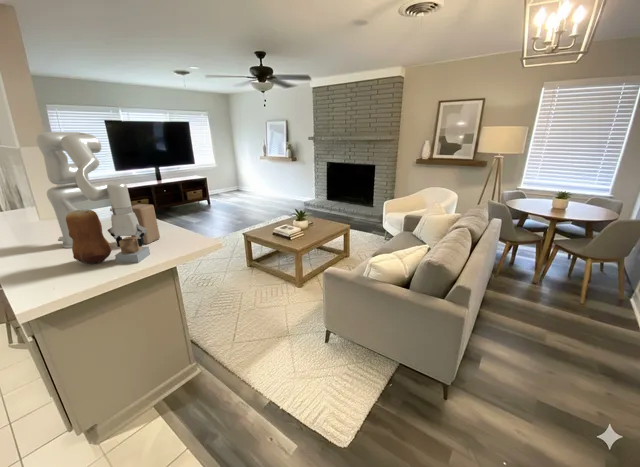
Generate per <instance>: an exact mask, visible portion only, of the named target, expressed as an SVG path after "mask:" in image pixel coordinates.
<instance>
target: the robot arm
mask: <svg viewBox="0 0 640 467" xmlns="http://www.w3.org/2000/svg"><path fill="white" fill-rule="evenodd" d="M36 144H37V148H39V151H40V152H41V154H42V156H43V159H44V165H45V171H46V176H47V178H48V181H49V182H50V183H51V184H53V185H57V186H53V187H50V188H48V189H47V191H46V197H47V199H48V201H49V203H50V204H51V206H52V208H53V211H54V213H55V216H56V219H57V221H58V222H57V223H58V225H59V229H60V231H61V235H62V236H59V237H58V239H57V241H58V242H62V243H61V247H62V248H65V249H69V248H70V249H72V245H73V239H72V238H71V237H70V236H69V230H68V227H67V223H66V216H67V214H68V213H69V212H72V211H75V210H79V209H78V208H76V206H74V205H72V204H74V203H75V204H76V203H81V202H85V201H86V202H87V201H88V200H89V201H93V202H97V201H103V200H109V204H110V207H111V208H109V211H110V212H112V214H111V218H110V220H111V227H110V228H108V229H107V232H108V233H109V234H110V236H111V237H113V239H114V240H115V242H116V245H117V247H118V248H120V244H119V241H120V240H122V239H123V237H131V236H133V235H135V236H136V237H138V239H137V241H138V245H139V247H141V246H142V247H144V245H145V244H144V240H143V237H144V235H145V234H146V231H147V229H146V228H144V227H142V226H140V225H139V223H138V220H137V217H136V215H135V213H134V212H133V210H132V206H133V205H132V203H131V202H132V201H131V198H130V197H131V196H130V193H129V189H128V186H127V184H126V183H124V182H118V181H115V180H109V181H101V182H94V183H91V182H90V179H89V178H90V177H89V174H90V173H91V172H94V171H95V170H96V169H97V168H98V167H99V166H100V161H99V158H97V156H96V155H95V154H99V153H100V152H101V151H102V143H101V141H100V140H99V138H97V137H96V136H95V135H93V134H90V133H85V132H78V131H77V132H76V131H75V132H74V131H71V132H69V131H66V132H65V131H48V132H41V133H39V134H37V136H36ZM65 152H66V153H65ZM66 154H67V155H68V156H69V158H70V160H71V161H72V162H73V163H69V162H68V156H67V155H66ZM140 230H142V233H141V232H140Z"/></svg>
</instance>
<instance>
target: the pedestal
mask: <svg viewBox="0 0 640 467" xmlns="http://www.w3.org/2000/svg"><path fill="white" fill-rule="evenodd" d="M150 255H151V252H150V247H149V246H142V249H140V250H139V251H137V252H136V253H122V252H121V251H119V252H117V253H116V254H115V255H114V257H115V261H116V263H117V264H132V263H133V264H138V263H140V262H142V261H143V260H144V259H145V258H147V257H148V256H150Z"/></svg>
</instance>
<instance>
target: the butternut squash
mask: <svg viewBox="0 0 640 467" xmlns="http://www.w3.org/2000/svg"><path fill="white" fill-rule="evenodd" d="M100 220H101V219H100V218H99V215H98V213H97V212H96V211H95V210H92V209H84V210H83V209H81V210H79V209H78V210H75V211H72V212H69V213H68V214H67V216H66V223H67V227H68V230H69V236H70V237H71V238H72V239H73V245H72V248H71V250H72V255H73V259H74V260H76V261H78V262H80V263H82V264H100V263H101V262H102V261H103V262H104V261H105V260H106V259H107V258H108V257H109V256H110V255H111V252H112V247H111V245H110V242H109V240H107V238H105V236H104V234H103V224H102V223H101V221H100ZM103 262H102V263H103Z"/></svg>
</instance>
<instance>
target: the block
mask: <svg viewBox="0 0 640 467" xmlns="http://www.w3.org/2000/svg"><path fill="white" fill-rule="evenodd" d="M131 206H132V210H133V212H134V213H135V215H136V217H137V220H138V223H139V225H140V226H142V227H144V228H146V229H147V231H146V234H145V235H144V237H143V240H144V245H149V244H151V243H153V242H156V241H157V240H160V239H161V236H160V231H159V224H158V221H157V216H156V211H155V207H154V204H148V203H147V204H142V203H138V204H134V205H131ZM140 232H141V233H142V230H140ZM130 237H136V236H135V235H133V236H130Z"/></svg>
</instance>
